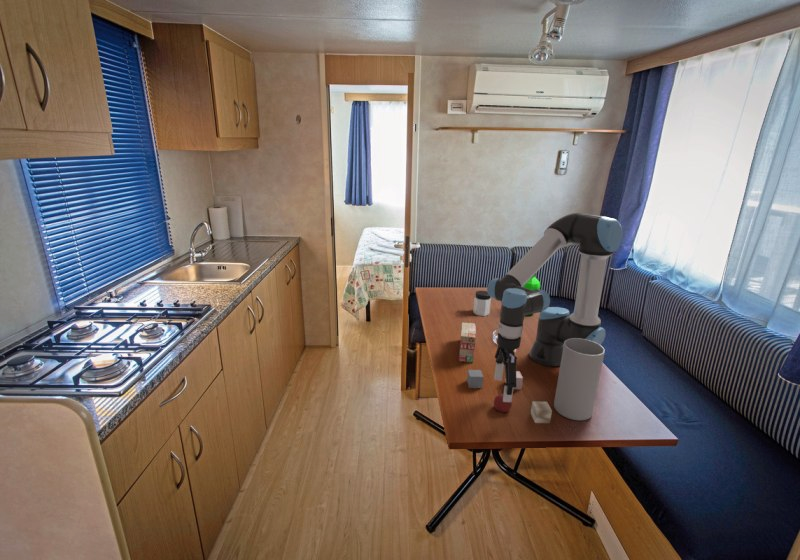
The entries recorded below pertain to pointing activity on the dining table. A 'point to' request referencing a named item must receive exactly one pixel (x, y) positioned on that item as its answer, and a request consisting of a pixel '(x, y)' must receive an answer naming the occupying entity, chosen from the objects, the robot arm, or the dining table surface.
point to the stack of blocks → (467, 342)
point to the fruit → (501, 403)
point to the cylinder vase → (578, 378)
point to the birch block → (541, 412)
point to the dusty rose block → (518, 380)
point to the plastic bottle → (532, 284)
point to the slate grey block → (475, 379)
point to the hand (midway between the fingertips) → (502, 390)
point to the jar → (482, 303)
